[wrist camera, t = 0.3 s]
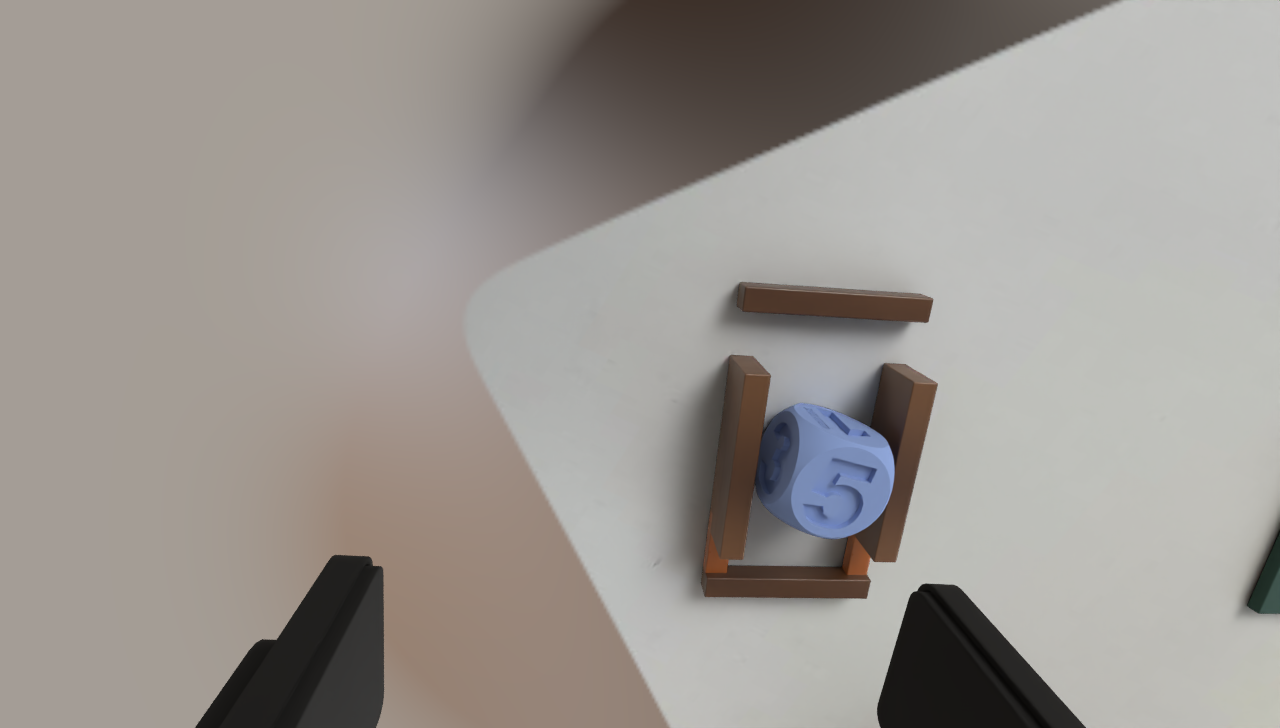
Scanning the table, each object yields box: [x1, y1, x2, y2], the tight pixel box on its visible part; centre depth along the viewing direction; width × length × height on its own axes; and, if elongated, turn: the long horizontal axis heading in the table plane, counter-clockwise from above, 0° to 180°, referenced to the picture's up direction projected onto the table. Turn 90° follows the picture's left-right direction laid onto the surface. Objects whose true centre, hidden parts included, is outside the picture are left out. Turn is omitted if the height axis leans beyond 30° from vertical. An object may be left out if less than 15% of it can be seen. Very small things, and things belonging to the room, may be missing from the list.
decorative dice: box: [755, 403, 894, 539], centre depth 24 cm, size 4×4×4 cm
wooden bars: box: [701, 282, 938, 599], centre depth 25 cm, size 14×8×2 cm, turn 175°
